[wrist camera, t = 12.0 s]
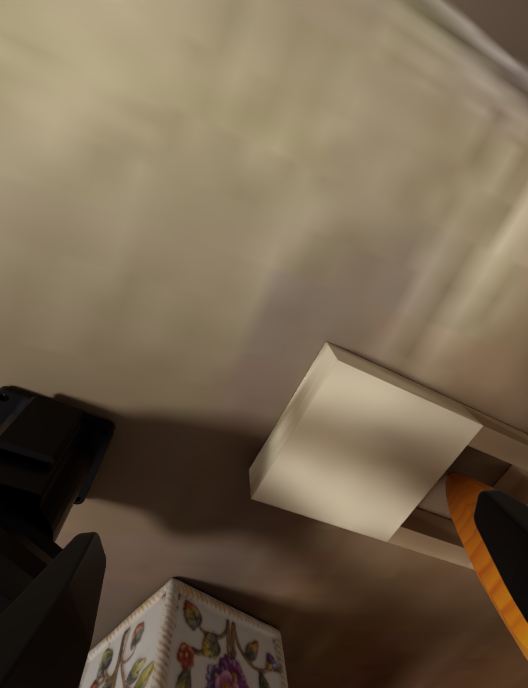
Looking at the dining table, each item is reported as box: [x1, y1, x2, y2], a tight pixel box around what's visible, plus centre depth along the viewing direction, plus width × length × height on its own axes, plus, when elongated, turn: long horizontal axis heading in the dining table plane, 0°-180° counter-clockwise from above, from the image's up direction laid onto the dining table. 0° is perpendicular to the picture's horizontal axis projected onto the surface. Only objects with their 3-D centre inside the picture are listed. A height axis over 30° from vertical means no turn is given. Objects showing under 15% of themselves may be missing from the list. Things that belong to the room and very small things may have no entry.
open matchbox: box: [249, 342, 528, 570], centre depth 24 cm, size 10×18×2 cm, turn 63°
